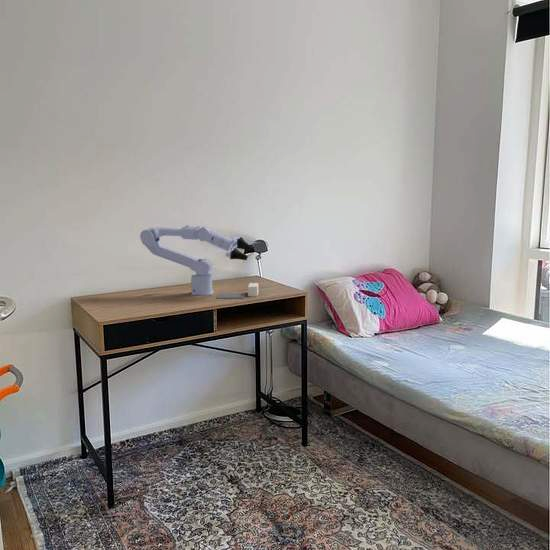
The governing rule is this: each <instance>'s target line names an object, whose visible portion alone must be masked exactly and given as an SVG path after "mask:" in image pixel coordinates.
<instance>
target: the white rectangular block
mask: <svg viewBox="0 0 550 550" xmlns="http://www.w3.org/2000/svg"><path fill="white" fill-rule="evenodd" d="M247 292H248V293H247V296H248V297H258V295H259V282H249V284H248V287H247Z"/></svg>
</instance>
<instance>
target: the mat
mask: <svg viewBox="0 0 550 550" xmlns="http://www.w3.org/2000/svg"><path fill="white" fill-rule="evenodd" d="M246 294H247V293H246V292H230V293H229V292H227V293H223V292H222V293H219V294H218V295H217V297H216V298H217V299H245V297H246Z"/></svg>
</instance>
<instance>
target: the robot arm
mask: <svg viewBox="0 0 550 550" xmlns="http://www.w3.org/2000/svg"><path fill="white" fill-rule="evenodd" d="M139 236H140V237H139V238H140V240H141V241H140V242H141V244H142V245H144V246H145V247H146V249H147V250H149V252H150V253H151V254H152V255H154V256H156V257H160V258H162V259H165V260H169V261H170V262H173V263H176V264H178V265H181V266H184V267H187V268H189V269H190V270H191V271H193V272H195V274H191V278H190V287H191V288H190V289H191V296H212V295H214V292H215V290H213V277H212V275H213V273H212V272H211V270H212V268H213V263H212V262H211V260H209V259H207V258H199V257H193V256H191V255H187V254H186V253H185V254H184V253H182V252H179V251H177V250H174V249H172V248H168V247H165V246H163V245H162V243H161V241H160V238H161V237H163V236H167V237H168V236H169V237H171V236H172V237H181V239H183V240H196V241H197V240H199V242H207V243H209V244H210V245H213V246H215V247H217V248H219V249H222V250H225V251H227V252H226V253H225V257H227V258H229V259H230V260H242V261H247V260H248V257H249V256H248V255H247V254H245V253H243V252H242V251H240V250H239V249H241V250H244V251H247V252H252V251H253V247H252V246H251V245H250V244H249V243H248V242H246V241H245V239H244V238H243V237H242V236H240V237H239V236H237V235H236V236H235V237H234V238H233V239H232V238H231V237H230V238H229V237H227V236H225V235H223V234H221V233H218V232H217V231H213V230H211V229H210V227H206V226H201V227H200V226H198V225H197V226H190V225H189V224H188V225H185V226H182V227H181V228H173V227H162V226H161V227H159V226H158V227H150V228H148V229H143V230H142V231H141V232H140V235H139Z"/></svg>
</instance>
